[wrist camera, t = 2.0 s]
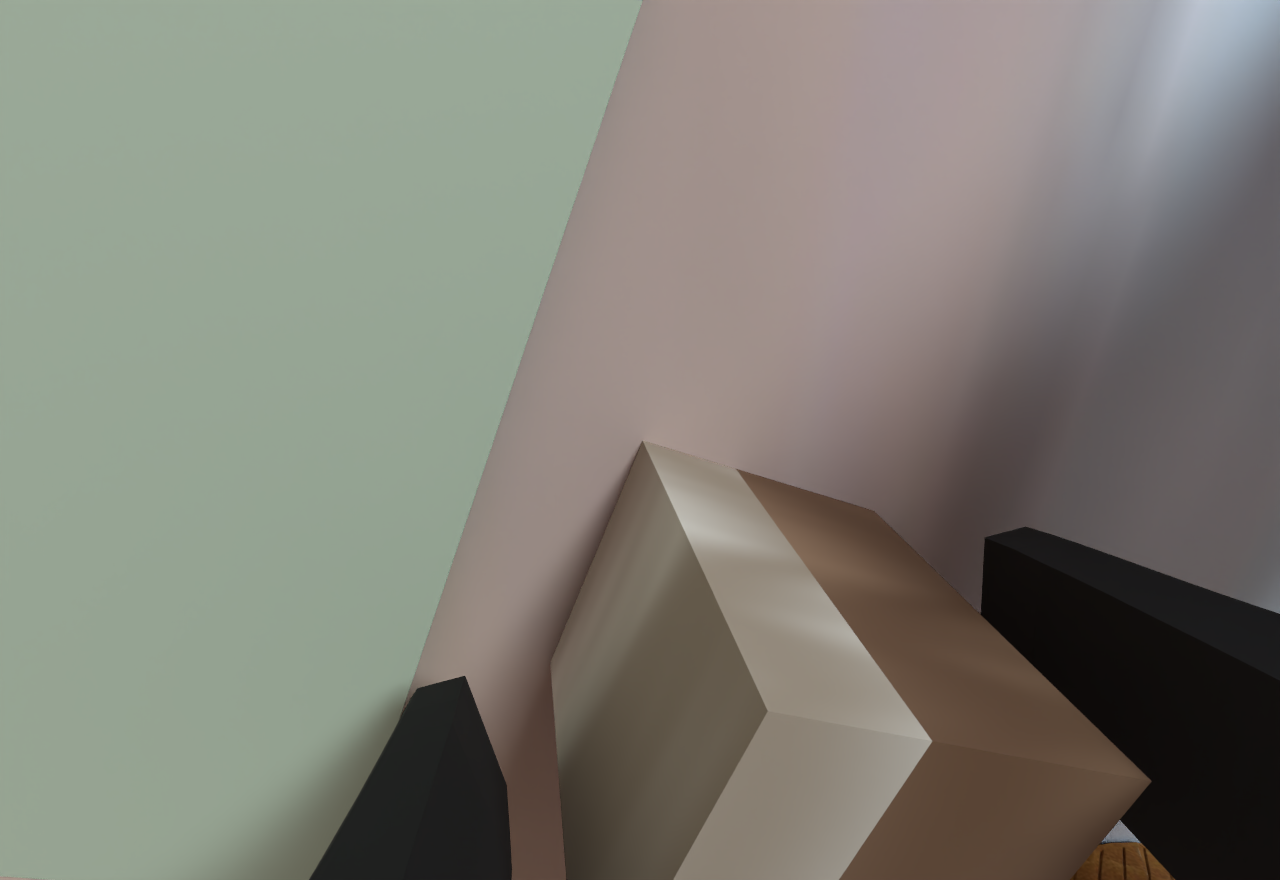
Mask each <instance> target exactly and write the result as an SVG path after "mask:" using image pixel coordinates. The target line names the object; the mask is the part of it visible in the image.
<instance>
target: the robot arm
mask: <svg viewBox="0 0 1280 880" xmlns="http://www.w3.org/2000/svg"><path fill="white" fill-rule="evenodd" d="M981 616H982V617H983V618H984V619H985V620H987V621H988V622H989V623H990V624H991V625H992V626H993V627H994V628H995V629H996V630H997V631H998V632H999V633H1000V634H1001V635H1002V636H1003V637H1004V638H1005V639H1006V640H1007V641H1008V642H1009V643H1010V644H1011V645H1012V646H1013V647H1014V648H1015V649H1016V650H1017V651H1018V652H1019V653H1020V654H1021V655H1022V656H1024V657H1025V658H1026V659H1027V660H1028V661H1029V662H1030V663H1031V664H1032V665H1033V666H1034V667H1035V668H1036V669H1037V670H1038V671H1039V672H1040V673H1041V674H1042V675H1043V676H1044V677H1045V678H1046V679H1047V680H1048V681H1049V682H1050V683H1051V684H1052V685H1053V686H1054V687H1055V688H1056V689H1057V690H1058V691H1060V692H1061V693H1062V694H1063V695H1064V696H1065V697H1066V698H1067V699H1068V700H1069V701H1070V702H1071V703H1072V704H1073V705H1074V706H1075V707H1076V708H1077V709H1078V710H1079V711H1080V712H1081V713H1082V714H1083V715H1084V716H1085V717H1086V718H1087V719H1088V720H1089V721H1090V722H1091V723H1092V724H1093V725H1094V726H1095V727H1097V728H1098V729H1099V730H1100V731H1101V732H1102V733H1103V734H1104V735H1105V736H1106V737H1107V738H1108V739H1109V740H1110V741H1111V742H1112V743H1113V744H1114V745H1115V746H1116V747H1117V748H1118V749H1119V750H1120V751H1121V752H1122V753H1123V754H1124V755H1125V756H1126V757H1127V758H1128V759H1129V760H1130V761H1131V762H1133V763H1134V764H1135V765H1136V766H1137V767H1138V768H1139V769H1140V770H1141V771H1142V772H1143V773H1144V774H1145V775H1146V776H1147V777H1148V778H1149V779H1150V780H1151V781H1152V782H1151V783H1150V784H1149V785H1148V786H1147V788H1146V789H1145V790H1144V791H1143V792H1142V794H1141V795H1140V796H1139V797H1138V798H1137V800H1136V801H1135V802H1134V803H1133V804H1132V806H1131V807H1130V808H1129V809H1128V810H1127V812H1126V813H1125V814H1124V815H1123V816H1122V818H1121V819H1120V820H1121V821H1122V823H1123V824H1124V825H1125V826H1126V827H1127V828H1128V829H1129V830H1130V831H1131V832H1132V833H1133V834H1134V836H1135V837H1136V838H1137V839H1138V840H1139V841H1140V842H1141V843H1142V844H1143V845H1144V846H1145V847H1146V849H1147V850H1148V851H1149V852H1150V853H1151V854H1152V855H1153V856H1154V857H1155V858H1156V859H1157V860H1158V862H1159V863H1160V864H1161V865H1162V866H1163V867H1164V868H1165V869H1166V870H1167V871H1168V872H1169V873H1170V875H1171V876H1172V877H1173V878H1174V879H1175V880H1280V614H1278V613H1275V612H1272V611H1269V610H1266V609H1263V608H1260V607H1257V606H1254V605H1251V604H1248V603H1245V602H1242V601H1239V600H1237V599H1234V598H1231V597H1228V596H1225V595H1222V594H1219V593H1216V592H1213V591H1210V590H1208V589H1205V588H1202V587H1199V586H1196V585H1193V584H1190V583H1188V582H1185V581H1182V580H1179V579H1176V578H1174V577H1171V576H1168V575H1165V574H1162V573H1160V572H1157V571H1154V570H1151V569H1148V568H1146V567H1143V566H1140V565H1137V564H1134V563H1132V562H1129V561H1126V560H1123V559H1121V558H1118V557H1115V556H1112V555H1109V554H1107V553H1104V552H1101V551H1098V550H1095V549H1092V548H1090V547H1087V546H1084V545H1081V544H1078V543H1075V542H1072V541H1069V540H1066V539H1063V538H1060V537H1057V536H1054V535H1051V534H1048V533H1045V532H1041V531H1038V530H1035V529H1031V528H1028V527H1023V528H1019V529H1016V530H1012V531H1008V532H1004V533H1001V534H997V535H993V536H989V537H985V544H984V564H983V584H982V604H981ZM511 877H512V864H511V845H510V827H509V813H508V798H507V785H506V782H505V780H504V777H503V774H502V772H501V769H500V766H499V764H498V761H497V759H496V756H495V753H494V751H493V748H492V745H491V743H490V740H489V737H488V735H487V732H486V730H485V727H484V724H483V722H482V719H481V716H480V714H479V711H478V708H477V706H476V703H475V701H474V698H473V695H472V693H471V690H470V687H469V685H468V682H467V679H466V677H465V676H462V677H459V678H455V679H451V680H447V681H443V682H440V683H436V684H432V685H428V686H425V687H421V688H418V689H417V690H416V692H415V693H414V695H413V696H412V697H411V699H410V701H409V703H408V705H407V707H406V708H405V710H404V712H403V714H402V716H401V718H400V720H399V721H398V723H397V725H396V727H395V729H394V731H393V733H392V734H391V736H390V738H389V740H388V742H387V744H386V746H385V747H384V749H383V751H382V753H381V755H380V757H379V758H378V760H377V762H376V764H375V766H374V768H373V769H372V771H371V773H370V775H369V777H368V778H367V780H366V782H365V784H364V786H363V787H362V789H361V791H360V793H359V795H358V796H357V798H356V800H355V802H354V803H353V805H352V807H351V809H350V810H349V812H348V814H347V815H346V817H345V819H344V821H343V822H342V824H341V826H340V827H339V829H338V831H337V833H336V834H335V836H334V838H333V840H332V841H331V843H330V845H329V846H328V848H327V850H326V852H325V853H324V855H323V857H322V859H321V860H320V862H319V864H318V865H317V867H316V869H315V870H314V872H313V874H312V875H311V877H310V878H309V880H511Z"/></svg>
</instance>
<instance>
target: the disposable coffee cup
mask: <svg viewBox="0 0 1280 880" xmlns="http://www.w3.org/2000/svg"><path fill="white" fill-rule="evenodd" d="M1070 880H1175V879H1174V878H1173V877H1172V876H1171V875H1170V873H1169V872H1168V871H1167V870H1166V869H1165V868H1164V867H1163V866H1162V865H1161V864H1160V863H1159V862H1158V860H1157V859H1156V858H1155V857H1154V856H1153V855H1152V854H1151V853H1150V852H1149V851H1148V850H1147V849H1146V847H1145V846H1144V845H1143V844H1142V843H1137V842H1130V843H1108V844H1102V845H1098V846H1097V848H1096V849H1095V850H1094V851H1093V852H1092V854H1091V855H1090V856H1089V857H1088V858H1087V860H1086V861H1085V862H1084V863H1083V864H1082V866H1081V867H1080V868H1079V869H1078V870H1077V872H1076V873H1075V874H1074V875H1073V876H1072V878H1071V879H1070Z"/></svg>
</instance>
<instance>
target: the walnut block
mask: <svg viewBox="0 0 1280 880" xmlns="http://www.w3.org/2000/svg"><path fill="white" fill-rule="evenodd" d="M550 665H551V679H552V692H553V705H554V719H555V732H556V746H557V759H558V772H559V786H560V799H561V813H562V826H563V839H564V853H565V866H566V879H567V880H1070V879H1071V878H1072V876H1073V875H1074V874H1075V873H1076V872H1077V870H1078V869H1079V868H1080V867H1081V866H1082V864H1083V863H1084V862H1085V861H1086V860H1087V858H1088V857H1089V856H1090V855H1091V854H1092V852H1093V851H1094V850H1095V849H1096V848H1097V846H1098V845H1099V844H1100V843H1101V842H1102V840H1103V839H1104V838H1105V837H1106V836H1107V834H1108V833H1109V832H1110V831H1111V830H1112V828H1113V827H1114V826H1115V825H1116V824H1117V822H1118V821H1119V820H1120V819H1121V818H1122V816H1123V815H1124V814H1125V813H1126V812H1127V810H1128V809H1129V808H1130V807H1131V806H1132V804H1133V803H1134V802H1135V801H1136V800H1137V798H1138V797H1139V796H1140V795H1141V794H1142V792H1143V791H1144V790H1145V789H1146V788H1147V786H1148V785H1149V784H1150V783H1151V782H1152V781H1151V780H1150V779H1149V778H1148V777H1147V776H1146V775H1145V774H1144V773H1143V772H1142V771H1141V770H1140V769H1139V768H1138V767H1137V766H1136V765H1135V764H1134V763H1133V762H1131V761H1130V760H1129V759H1128V758H1127V757H1126V756H1125V755H1124V754H1123V753H1122V752H1121V751H1120V750H1119V749H1118V748H1117V747H1116V746H1115V745H1114V744H1113V743H1112V742H1111V741H1110V740H1109V739H1108V738H1107V737H1106V736H1105V735H1104V734H1103V733H1102V732H1101V731H1100V730H1099V729H1098V728H1097V727H1095V726H1094V725H1093V724H1092V723H1091V722H1090V721H1089V720H1088V719H1087V718H1086V717H1085V716H1084V715H1083V714H1082V713H1081V712H1080V711H1079V710H1078V709H1077V708H1076V707H1075V706H1074V705H1073V704H1072V703H1071V702H1070V701H1069V700H1068V699H1067V698H1066V697H1065V696H1064V695H1063V694H1062V693H1061V692H1060V691H1058V690H1057V689H1056V688H1055V687H1054V686H1053V685H1052V684H1051V683H1050V682H1049V681H1048V680H1047V679H1046V678H1045V677H1044V676H1043V675H1042V674H1041V673H1040V672H1039V671H1038V670H1037V669H1036V668H1035V667H1034V666H1033V665H1032V664H1031V663H1030V662H1029V661H1028V660H1027V659H1026V658H1025V657H1024V656H1022V655H1021V654H1020V653H1019V652H1018V651H1017V650H1016V649H1015V648H1014V647H1013V646H1012V645H1011V644H1010V643H1009V642H1008V641H1007V640H1006V639H1005V638H1004V637H1003V636H1002V635H1001V634H1000V633H999V632H998V631H997V630H996V629H995V628H994V627H993V626H992V625H991V624H990V623H989V622H988V621H987V620H985V619H984V618H983V617H982V616H981V615H980V614H979V613H978V612H977V611H976V610H975V609H974V608H973V607H972V606H971V605H970V604H969V603H968V602H967V601H966V600H965V599H964V598H963V597H962V596H961V595H960V594H959V593H958V592H957V591H956V590H955V589H954V588H953V587H952V586H951V585H949V584H948V583H947V582H946V581H945V580H944V579H943V578H942V577H941V576H940V575H939V574H938V573H937V572H936V571H935V570H934V569H933V568H932V567H931V566H930V565H929V564H928V563H927V562H926V561H925V560H924V559H923V558H922V557H921V556H920V555H919V554H918V553H917V552H916V551H915V550H914V549H912V548H911V547H910V546H909V545H908V544H907V543H906V542H905V541H904V540H903V539H902V538H901V537H900V536H899V535H898V534H897V533H896V532H895V531H894V530H893V529H892V528H891V527H890V526H889V525H888V524H887V523H886V522H885V521H884V520H883V519H882V518H881V517H880V516H879V515H878V514H876V513H875V512H874V511H873V510H869V509H866V508H863V507H859V506H856V505H853V504H850V503H846V502H843V501H840V500H836V499H833V498H830V497H827V496H823V495H820V494H817V493H813V492H810V491H807V490H803V489H800V488H797V487H794V486H790V485H787V484H784V483H780V482H777V481H774V480H771V479H767V478H764V477H761V476H757V475H754V474H751V473H748V472H744V471H741V470H738V469H734V468H731V467H728V466H725V465H721V464H718V463H715V462H711V461H708V460H705V459H701V458H698V457H695V456H692V455H688V454H685V453H682V452H678V451H675V450H672V449H669V448H665V447H662V446H659V445H655V444H652V443H649V442H646V441H642V444H641V446H640V448H639V451H638V453H637V456H636V458H635V460H634V463H633V465H632V468H631V470H630V472H629V475H628V477H627V480H626V482H625V484H624V487H623V489H622V492H621V494H620V496H619V499H618V501H617V504H616V506H615V508H614V511H613V513H612V516H611V518H610V520H609V523H608V525H607V528H606V530H605V532H604V535H603V537H602V540H601V542H600V544H599V547H598V549H597V552H596V554H595V556H594V559H593V561H592V564H591V566H590V568H589V571H588V573H587V576H586V578H585V580H584V583H583V585H582V588H581V590H580V592H579V595H578V597H577V600H576V602H575V604H574V607H573V609H572V612H571V614H570V616H569V619H568V621H567V624H566V626H565V628H564V631H563V633H562V636H561V638H560V640H559V643H558V645H557V648H556V650H555V652H554V655H553V657H552V660H551V662H550Z"/></svg>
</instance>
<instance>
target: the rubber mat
mask: <svg viewBox="0 0 1280 880" xmlns="http://www.w3.org/2000/svg"><path fill="white" fill-rule="evenodd" d="M642 1H643V0H0V876H4V877H19V878H33V879H48V880H309V878H310V877H311V875H312V874H313V872H314V870H315V869H316V867H317V865H318V864H319V862H320V860H321V859H322V857H323V855H324V853H325V852H326V850H327V848H328V846H329V845H330V843H331V841H332V840H333V838H334V836H335V834H336V833H337V831H338V829H339V827H340V826H341V824H342V822H343V821H344V819H345V817H346V815H347V814H348V812H349V810H350V809H351V807H352V805H353V803H354V802H355V800H356V798H357V796H358V795H359V793H360V791H361V789H362V787H363V786H364V784H365V782H366V780H367V778H368V777H369V775H370V773H371V771H372V769H373V768H374V766H375V764H376V762H377V760H378V758H379V757H380V755H381V753H382V751H383V749H384V747H385V746H386V744H387V742H388V740H389V738H390V736H391V734H392V733H393V731H394V729H395V727H396V725H397V723H398V721H399V719H400V716H401V713H402V710H403V707H404V704H405V701H406V698H407V695H408V692H409V689H410V686H411V683H412V680H413V677H414V674H415V671H416V668H417V666H418V663H419V660H420V657H421V654H422V651H423V648H424V645H425V642H426V639H427V636H428V633H429V630H430V627H431V624H432V621H433V618H434V615H435V612H436V609H437V606H438V603H439V601H440V598H441V595H442V592H443V589H444V586H445V583H446V580H447V577H448V574H449V571H450V568H451V565H452V562H453V559H454V556H455V553H456V550H457V547H458V544H459V541H460V538H461V536H462V533H463V530H464V527H465V524H466V521H467V518H468V515H469V512H470V509H471V506H472V503H473V500H474V497H475V494H476V491H477V488H478V485H479V482H480V479H481V476H482V473H483V471H484V468H485V465H486V462H487V459H488V456H489V453H490V450H491V447H492V444H493V441H494V438H495V435H496V432H497V429H498V426H499V423H500V420H501V417H502V414H503V411H504V408H505V406H506V403H507V400H508V397H509V394H510V391H511V388H512V385H513V382H514V379H515V376H516V373H517V370H518V367H519V364H520V361H521V358H522V355H523V352H524V349H525V346H526V343H527V341H528V338H529V335H530V332H531V329H532V326H533V323H534V320H535V317H536V314H537V311H538V308H539V305H540V302H541V299H542V296H543V293H544V290H545V287H546V284H547V281H548V278H549V275H550V273H551V270H552V267H553V264H554V261H555V258H556V255H557V252H558V249H559V246H560V243H561V240H562V237H563V234H564V231H565V228H566V225H567V222H568V219H569V216H570V213H571V210H572V208H573V205H574V202H575V199H576V196H577V193H578V190H579V187H580V184H581V181H582V178H583V175H584V172H585V169H586V166H587V163H588V160H589V157H590V154H591V151H592V148H593V145H594V143H595V140H596V137H597V134H598V131H599V128H600V125H601V122H602V119H603V116H604V113H605V110H606V107H607V104H608V101H609V98H610V95H611V92H612V89H613V86H614V83H615V80H616V78H617V75H618V72H619V69H620V66H621V63H622V60H623V57H624V54H625V51H626V48H627V45H628V42H629V39H630V36H631V33H632V30H633V27H634V24H635V21H636V18H637V15H638V13H639V10H640V7H641V4H642Z"/></svg>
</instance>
